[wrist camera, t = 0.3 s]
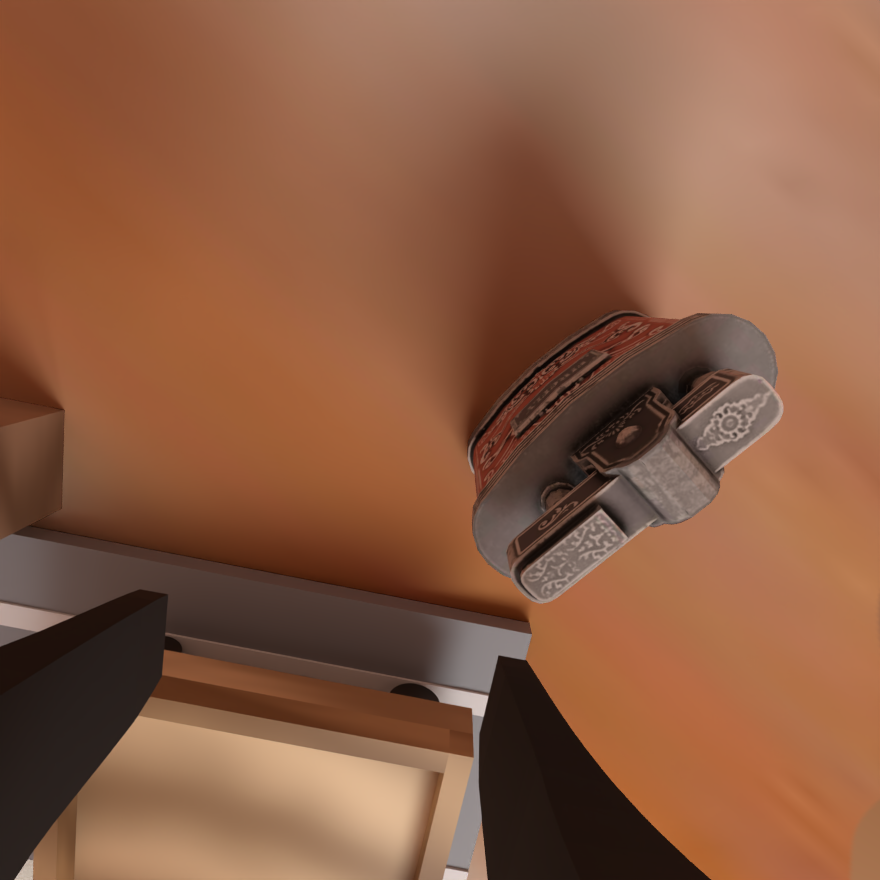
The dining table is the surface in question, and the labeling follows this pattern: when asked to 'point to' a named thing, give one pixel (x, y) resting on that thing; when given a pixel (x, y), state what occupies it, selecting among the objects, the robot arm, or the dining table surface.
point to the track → (272, 627)
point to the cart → (269, 782)
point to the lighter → (615, 440)
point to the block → (29, 463)
